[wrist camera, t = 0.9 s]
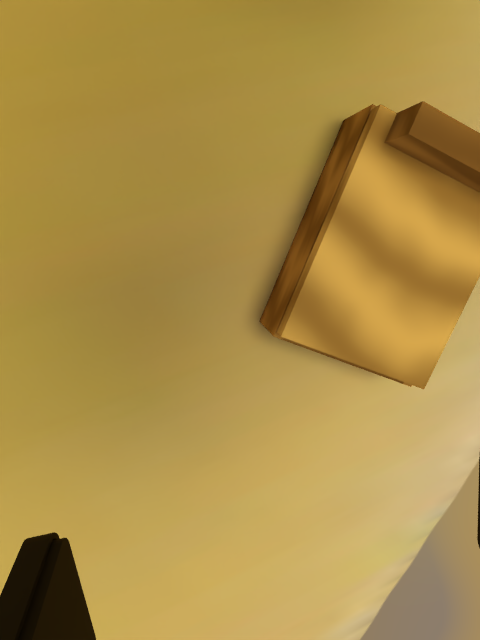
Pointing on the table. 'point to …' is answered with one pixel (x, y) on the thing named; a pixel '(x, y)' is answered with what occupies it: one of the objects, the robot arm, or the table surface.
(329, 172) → the brown shallow rectangular box
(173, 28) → the table surface
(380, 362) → the lid
